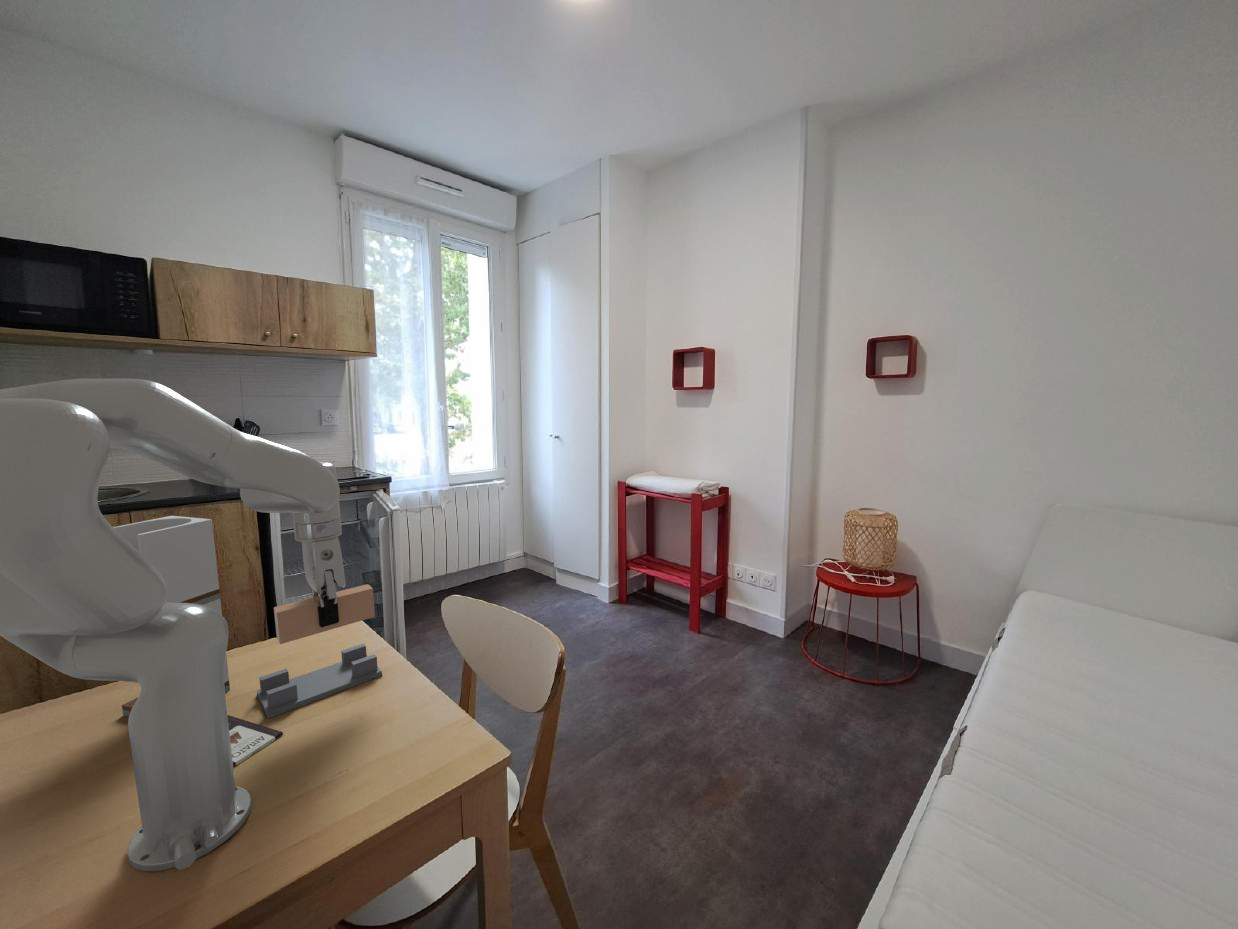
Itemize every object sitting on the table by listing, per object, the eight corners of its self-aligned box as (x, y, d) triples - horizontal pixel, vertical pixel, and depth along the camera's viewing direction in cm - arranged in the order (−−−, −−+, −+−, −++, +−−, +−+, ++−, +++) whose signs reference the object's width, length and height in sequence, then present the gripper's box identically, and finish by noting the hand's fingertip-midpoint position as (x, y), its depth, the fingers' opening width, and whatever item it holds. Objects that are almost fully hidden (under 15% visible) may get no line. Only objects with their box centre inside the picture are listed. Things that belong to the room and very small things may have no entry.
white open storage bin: (191, 681, 101) (171, 515, 97) (230, 689, 99) (211, 519, 94) (123, 715, 90) (97, 530, 86) (164, 725, 88) (140, 534, 83)
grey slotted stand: (382, 675, 104) (381, 657, 103) (267, 718, 90) (265, 698, 89) (365, 658, 111) (364, 641, 110) (257, 695, 97) (255, 676, 96)
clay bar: (374, 616, 99) (372, 588, 98) (280, 644, 88) (276, 612, 87) (370, 611, 101) (368, 584, 100) (276, 638, 90) (273, 607, 89)
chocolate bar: (213, 710, 91) (282, 732, 85) (213, 715, 91) (283, 737, 85) (154, 741, 83) (226, 768, 77) (154, 747, 83) (227, 773, 77)
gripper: (353, 533, 88) (361, 629, 91) (329, 516, 100) (336, 602, 103) (304, 542, 83) (314, 644, 86) (285, 523, 95) (294, 613, 98)
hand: (326, 620), depth 94 cm, fingers closed on clay bar, 3 cm apart
